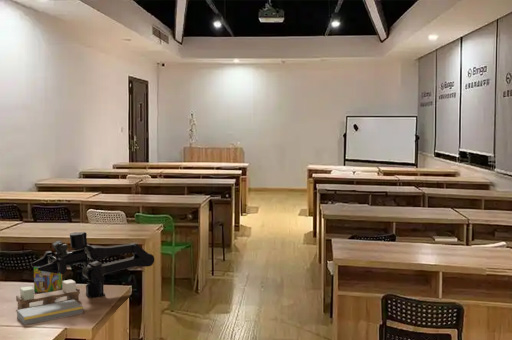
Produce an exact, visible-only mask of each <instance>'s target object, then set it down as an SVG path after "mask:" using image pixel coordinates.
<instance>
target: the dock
mask: <svg viewBox="0 0 512 340" xmlns="http://www.w3.org/2000/svg"><path fill="white" fill-rule="evenodd" d="M83 309H84V306H83V305H82V304H81V303H80V302H78V301H75V300H69V299H68V300H65V301H63V300H62V301H58V302H55V303H52V304H47V305H45V304H43V305H37V306H36V305H35V306H33V307H30V308H25V309H17V310H16V318H17V319H18V320H19V321H20V322H21V324H22V325H24V326H26V325H30V324H31V325H32V324H37V323H42V322H46V321H51V320H57V319H61V318H66V317H71V316H76V315H80V314H83V313H84V311H83Z"/></svg>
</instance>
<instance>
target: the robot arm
mask: <svg viewBox="0 0 512 340" xmlns="http://www.w3.org/2000/svg"><path fill="white" fill-rule="evenodd" d="M69 241H70V248H71V249H73V251H68V249H69V246H68V244H66V243H63V242H62V241H61V240H57V241H55V242H53V243H51V246H52V247H53V249H54V251H55V252H53V251H52V250H47V251H45V252H44V254H43V256H42V257H41V258H38V259H37V260H35V261H33V262H31V263H30V264H31V265H30V266H31V267H34V266H37V267H39V268H38V271H45V272H51V273H57V274H62V275H64V274H66V273H67V271H68V268H67V267H70V268H72V267H74V266H75V265H78V264H82V266H83V267H82V270H81V274H82V276H83V277H84V278H85V279H86V280H87V281H86V285H85V295H86V296H87V295H88V297H89V298H91V299H92V298H97V297H102V296H106V293H105V292H104V285H105V284H104V283H105V280H106V277H105V275H106V274H110V273H113V272H117V271H121V270H126V269H131V268H134V267H139V268H141V267H142V268H143V267H144V268H146V267H151V266H153V265H154V264H155V256H154V255H153V254H151V253H149V252H147V251H146V250H144V249H143V248H142V247H141V246H140V245H139V244H137V243H135V242H130V243H123V244H117V245H109V246H107V245H106V246H103V245H94V244H93V245H90V244H88V239H87V232H86V231H81V232H80V231H79V232H78V231H77V232H71V233H69ZM125 254H132V255H133V256H131V257H128V258H124V259H119V260H114V261H111V262H105V263H102V262H100V260H101V261H102V260H105V259H106V258H108V257H111V256H118V255H125ZM88 258H89V259H91V260H92V262H91V261H90V260H89V259H88Z"/></svg>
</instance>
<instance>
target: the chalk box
mask: <svg viewBox="0 0 512 340" xmlns="http://www.w3.org/2000/svg"><path fill="white" fill-rule="evenodd" d="M38 268H39V267H37V266H33V289H34V293H47V292H53V291H59V290H62V281H63V274H57V273H51V272H45V271H38Z"/></svg>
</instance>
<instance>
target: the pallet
mask: <svg viewBox="0 0 512 340" xmlns="http://www.w3.org/2000/svg"><path fill="white" fill-rule="evenodd" d="M80 294H81V291H80V288H78V287H77V286H76V291H75V292H70V293H66V292H64V291H63V290H62V289H59V290H57V291H53V292H40V293H38V294H34V299H30V300H23V299H22V298H20V295H16V296H15V297H16V298H15V299H16V300H15V301H16V302H17V308H18V310H20V309H25V308H31V307H30V304H31V303H36V302H42V303H43V305H47V304H52V303H56V300H55V299H58V298H59V299H60V298H64V297H66V299H67V300H68V301H69V300H75V301H77V302H78V300H79V301H80V299H79V296H80Z"/></svg>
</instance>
